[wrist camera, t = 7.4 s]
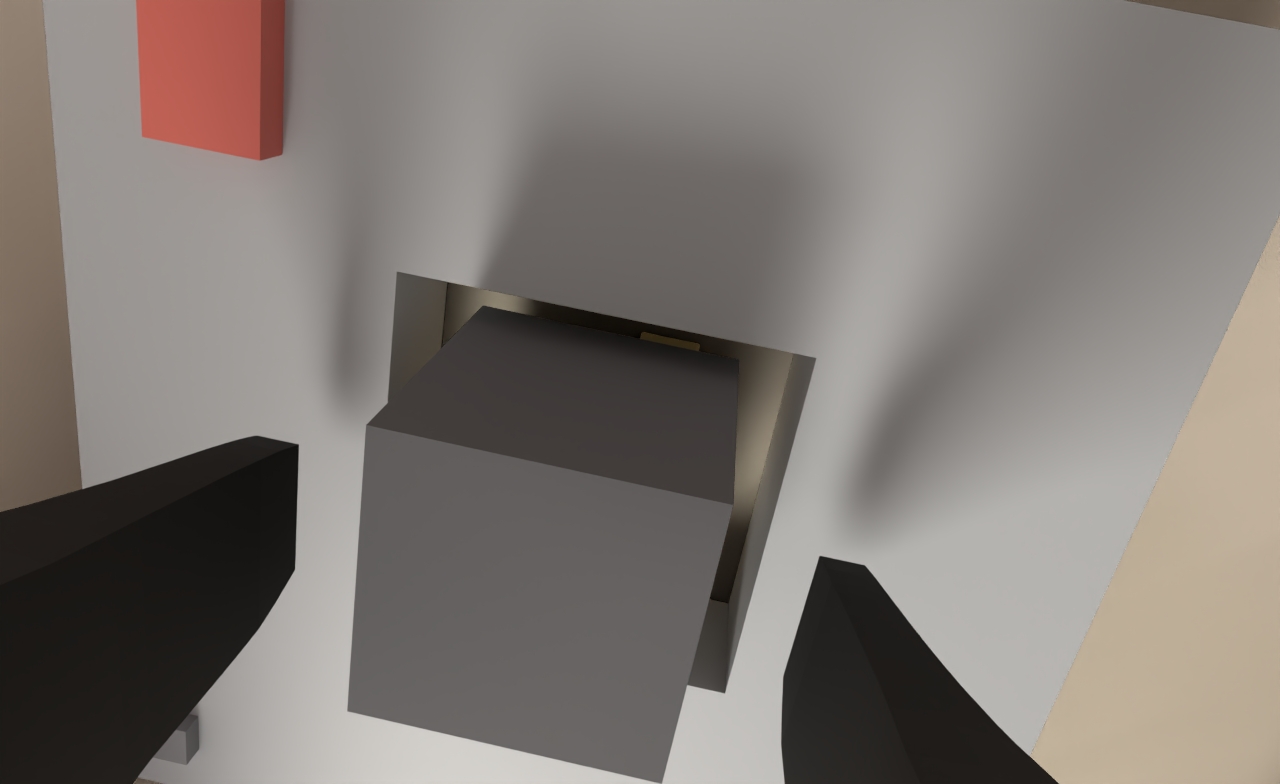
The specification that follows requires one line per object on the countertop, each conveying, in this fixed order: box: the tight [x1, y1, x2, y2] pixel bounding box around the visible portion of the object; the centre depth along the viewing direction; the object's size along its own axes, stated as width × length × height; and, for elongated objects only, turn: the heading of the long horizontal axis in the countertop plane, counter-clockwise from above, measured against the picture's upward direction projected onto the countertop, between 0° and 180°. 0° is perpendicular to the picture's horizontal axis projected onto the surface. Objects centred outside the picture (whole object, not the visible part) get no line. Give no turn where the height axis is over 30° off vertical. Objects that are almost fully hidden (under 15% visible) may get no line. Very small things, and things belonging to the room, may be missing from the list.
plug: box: [347, 306, 739, 784], centre depth 13 cm, size 4×4×6 cm
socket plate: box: [43, 0, 1280, 784], centre depth 14 cm, size 16×16×3 cm
